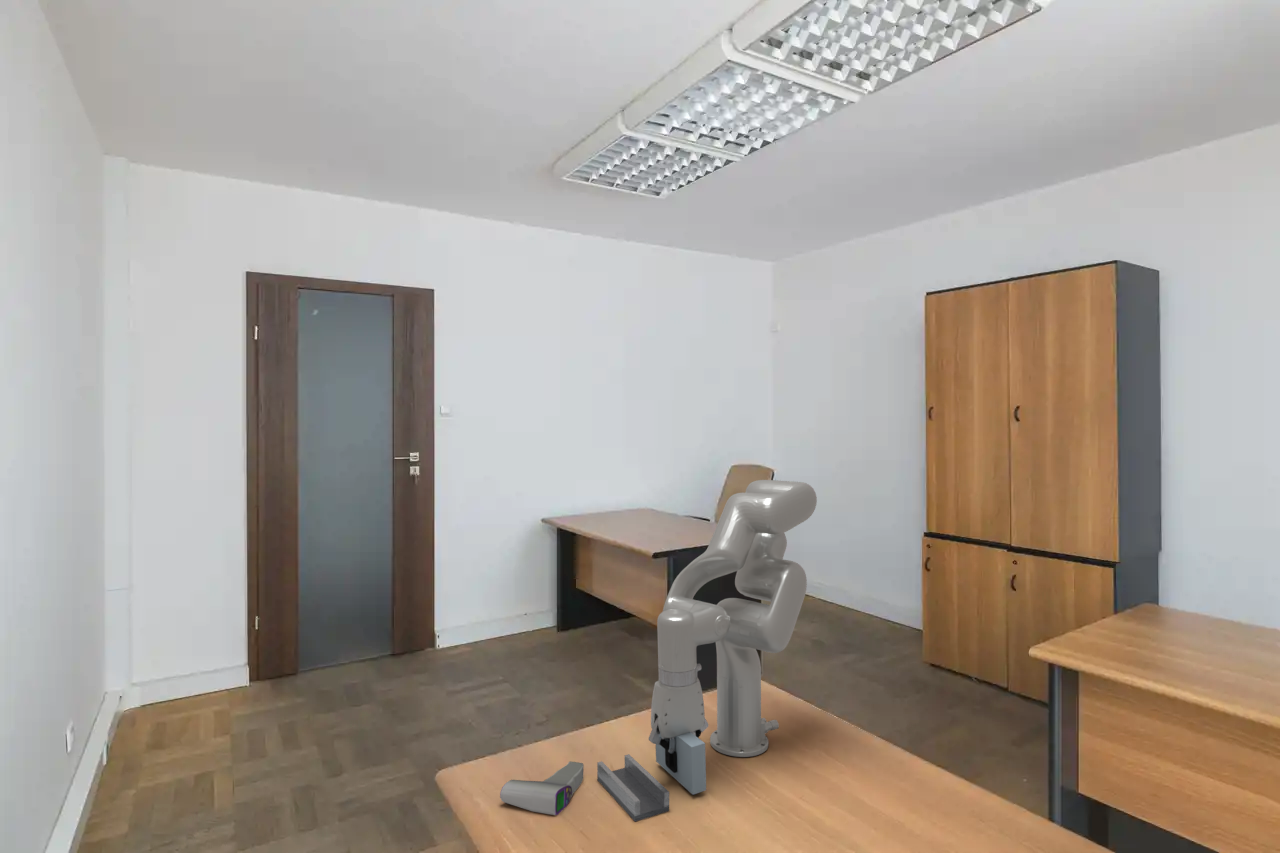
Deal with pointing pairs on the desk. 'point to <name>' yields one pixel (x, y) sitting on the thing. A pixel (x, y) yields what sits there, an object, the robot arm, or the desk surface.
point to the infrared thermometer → (545, 790)
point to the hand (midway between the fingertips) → (679, 766)
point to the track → (634, 789)
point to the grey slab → (687, 762)
